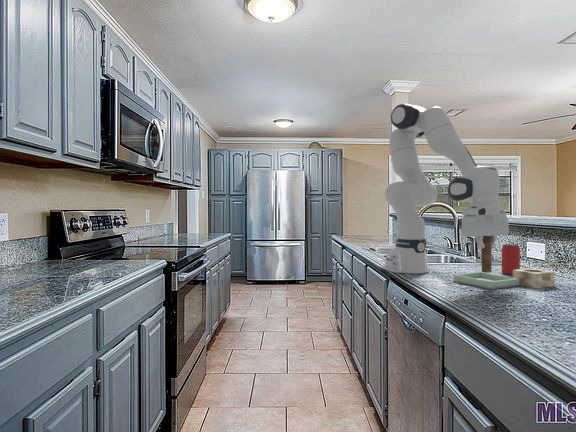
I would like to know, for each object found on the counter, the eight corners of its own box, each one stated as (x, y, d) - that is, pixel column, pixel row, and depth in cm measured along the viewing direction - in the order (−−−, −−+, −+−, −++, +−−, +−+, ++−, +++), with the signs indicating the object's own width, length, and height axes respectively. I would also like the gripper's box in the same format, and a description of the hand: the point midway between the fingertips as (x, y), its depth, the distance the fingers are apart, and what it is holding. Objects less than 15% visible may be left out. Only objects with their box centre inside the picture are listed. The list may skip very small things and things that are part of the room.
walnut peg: (479, 271, 139) (479, 236, 138) (485, 271, 140) (485, 235, 140) (487, 272, 136) (486, 236, 135) (493, 272, 137) (493, 236, 137)
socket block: (512, 283, 137) (512, 269, 137) (529, 281, 141) (529, 268, 141) (537, 288, 129) (537, 273, 129) (554, 286, 133) (554, 271, 133)
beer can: (502, 271, 163) (502, 243, 162) (520, 273, 159) (520, 244, 158) (500, 273, 157) (500, 245, 157) (519, 275, 153) (519, 246, 153)
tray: (453, 281, 143) (453, 274, 143) (480, 278, 148) (480, 271, 148) (491, 289, 128) (491, 282, 128) (519, 285, 134) (519, 278, 134)
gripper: (498, 210, 145) (498, 246, 145) (458, 210, 136) (458, 249, 137) (513, 209, 139) (513, 247, 139) (473, 210, 131) (473, 250, 131)
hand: (486, 248), depth 138 cm, fingers closed on walnut peg, 3 cm apart
